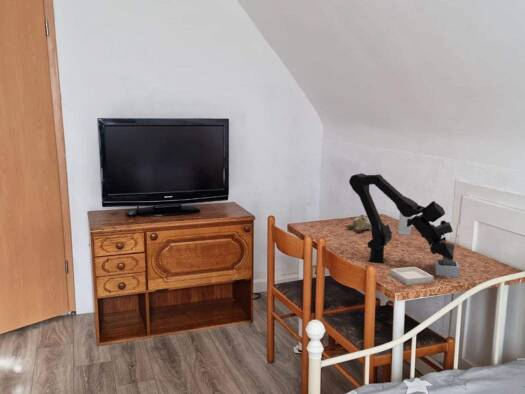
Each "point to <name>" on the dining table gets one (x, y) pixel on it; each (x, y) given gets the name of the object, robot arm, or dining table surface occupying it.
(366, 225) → the ceramic sculpture
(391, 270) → the tray
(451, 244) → the dark grey pillar
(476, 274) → the dining table surface
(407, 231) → the skincare box
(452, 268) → the square frame
